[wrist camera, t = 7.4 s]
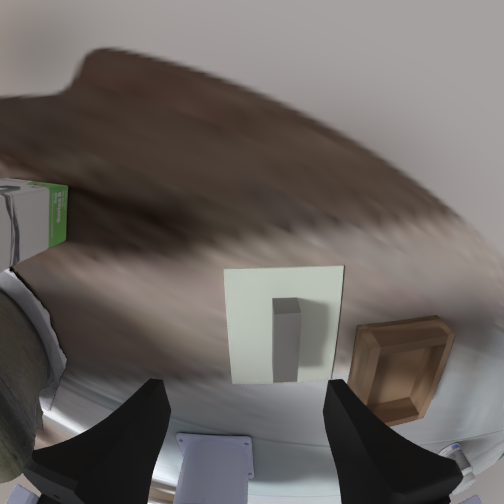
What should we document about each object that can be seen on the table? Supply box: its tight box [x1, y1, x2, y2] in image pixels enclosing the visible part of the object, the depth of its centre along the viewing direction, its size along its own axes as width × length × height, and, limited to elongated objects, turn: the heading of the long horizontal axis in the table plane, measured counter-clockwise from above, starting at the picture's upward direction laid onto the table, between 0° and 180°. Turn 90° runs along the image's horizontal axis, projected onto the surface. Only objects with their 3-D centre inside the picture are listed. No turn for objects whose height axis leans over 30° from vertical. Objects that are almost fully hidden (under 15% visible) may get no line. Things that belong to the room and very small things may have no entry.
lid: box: [224, 265, 344, 384], centre depth 21 cm, size 11×9×3 cm
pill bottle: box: [438, 443, 476, 495], centre depth 24 cm, size 5×5×8 cm
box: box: [347, 315, 456, 427], centre depth 21 cm, size 10×8×3 cm
